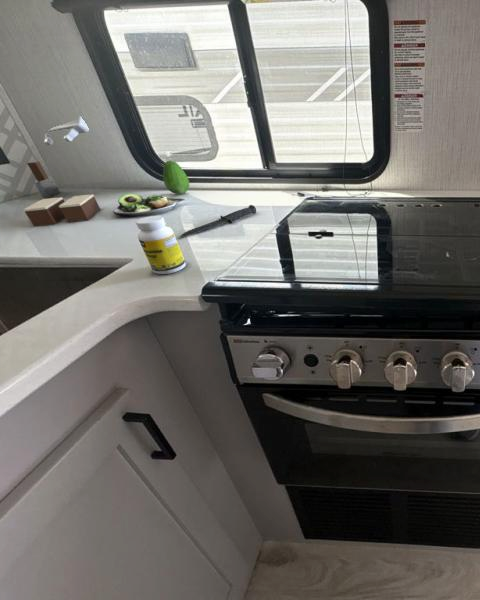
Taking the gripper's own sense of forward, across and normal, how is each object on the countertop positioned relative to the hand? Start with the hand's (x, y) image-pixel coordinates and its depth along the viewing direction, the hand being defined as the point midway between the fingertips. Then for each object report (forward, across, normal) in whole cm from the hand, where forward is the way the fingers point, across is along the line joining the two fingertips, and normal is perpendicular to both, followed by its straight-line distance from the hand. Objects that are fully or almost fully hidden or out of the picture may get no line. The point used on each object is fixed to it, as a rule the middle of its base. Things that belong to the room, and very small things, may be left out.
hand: (57, 141), depth 122 cm
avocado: (+14, +41, +19) cm, 47 cm away
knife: (+41, +77, +4) cm, 87 cm away
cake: (+36, +25, -1) cm, 44 cm away
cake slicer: (+16, -8, +9) cm, 20 cm away
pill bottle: (+64, +83, -12) cm, 106 cm away
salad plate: (+30, +43, +7) cm, 53 cm away
